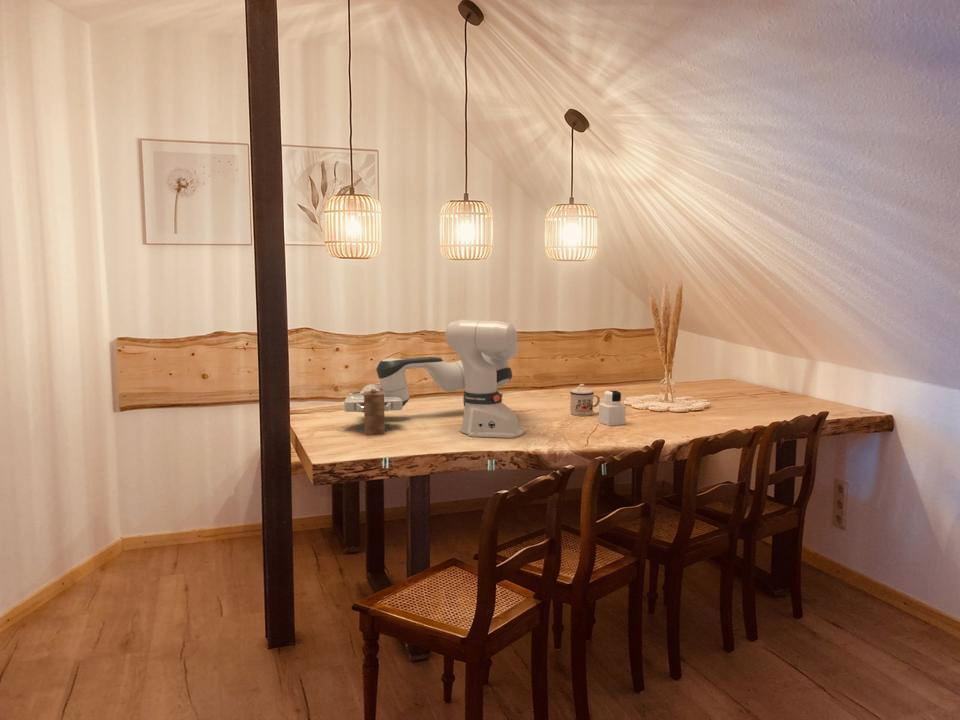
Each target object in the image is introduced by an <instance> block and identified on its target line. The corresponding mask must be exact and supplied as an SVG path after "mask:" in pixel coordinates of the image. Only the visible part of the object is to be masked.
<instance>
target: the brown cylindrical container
mask: <svg viewBox="0 0 960 720" xmlns="http://www.w3.org/2000/svg"><path fill="white" fill-rule="evenodd" d="M363 413H364V414H363V415H364V424H365V432H364V436H381V435H382V436H383V435H385V436H386V434H385V433H386V431H385V423H386V422H385V411H384V392H383V391H376V389H371V391H364V412H363Z"/></svg>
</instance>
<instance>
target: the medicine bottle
mask: <svg viewBox="0 0 960 720" xmlns="http://www.w3.org/2000/svg"><path fill="white" fill-rule="evenodd" d="M603 395H604V396H603V402H602V403H601V402H599V404H598V422H599V424H603V425H605V426H608V427H613V426H614V427H615V426H624V425H626V405H625V404H622V403H621V401H622V393H621V392H620V391H618V390H606V391H604V393H603Z"/></svg>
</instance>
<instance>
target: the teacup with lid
mask: <svg viewBox="0 0 960 720" xmlns="http://www.w3.org/2000/svg"><path fill="white" fill-rule="evenodd" d="M569 393H570V402H569V403H570V405H569V406H570V415H573V416H577V417H588V416H589V417H590V416H592V415H593V414H594V408H596V407H599V404H600V403H601V399H600V396H599V395H598V394H594V393H595V392H594V390H593V389H590V388H589V387H587V386H585V383H580V384H579V386H576V387H575V388H572V389H570V392H569ZM594 397H595V398H596V399H597V401H596V403H595V404H594Z"/></svg>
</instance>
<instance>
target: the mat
mask: <svg viewBox="0 0 960 720" xmlns="http://www.w3.org/2000/svg"><path fill="white" fill-rule="evenodd" d="M384 423H385V432H392V428H391V427H392V426H391V423H389V422H388V423H387V422H384ZM355 427H356V433H363V432H364V433H365V423H361V424H359V423H358V424H357V423H356V425H355Z"/></svg>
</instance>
